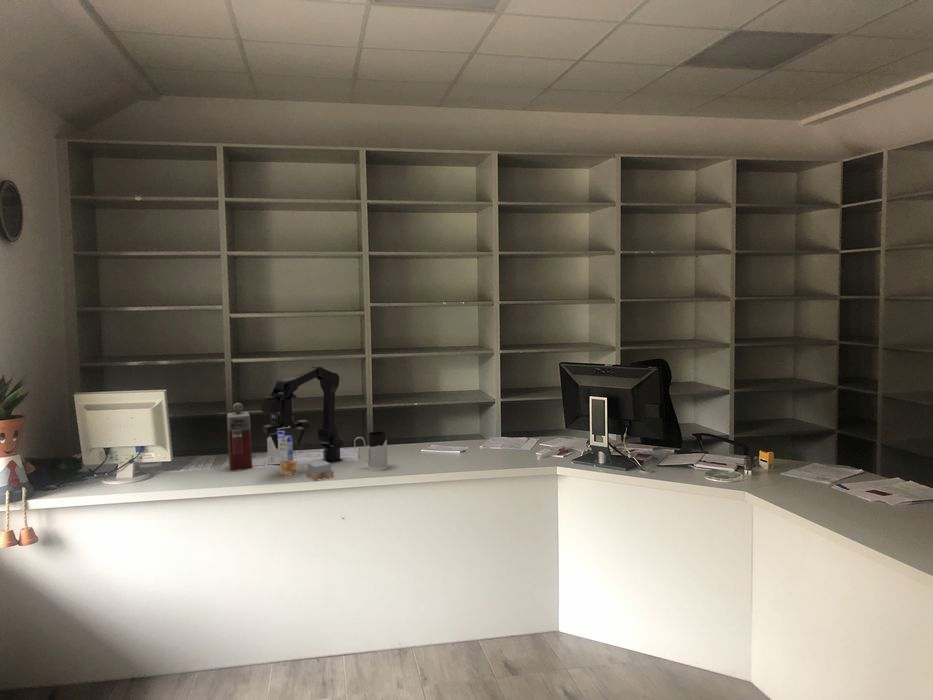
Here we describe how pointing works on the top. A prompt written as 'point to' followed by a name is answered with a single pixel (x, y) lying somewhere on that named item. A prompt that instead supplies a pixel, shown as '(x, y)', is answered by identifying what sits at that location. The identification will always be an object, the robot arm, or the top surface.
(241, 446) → the red and grey bottle
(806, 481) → the top surface
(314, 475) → the tower base
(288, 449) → the ink cartridge box
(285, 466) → the orange cube
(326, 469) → the tower top
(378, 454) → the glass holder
